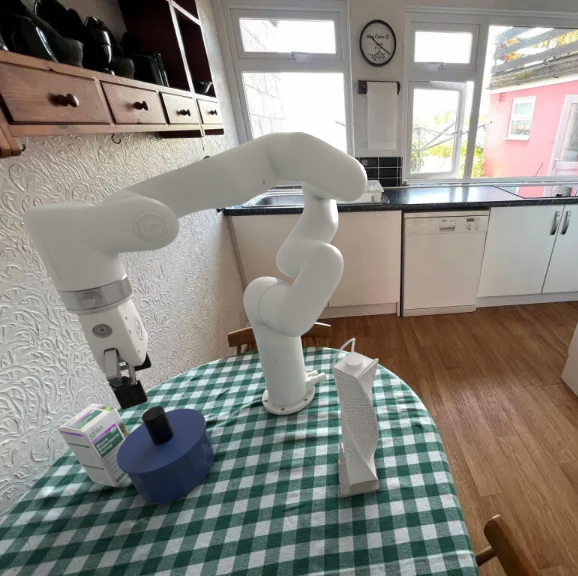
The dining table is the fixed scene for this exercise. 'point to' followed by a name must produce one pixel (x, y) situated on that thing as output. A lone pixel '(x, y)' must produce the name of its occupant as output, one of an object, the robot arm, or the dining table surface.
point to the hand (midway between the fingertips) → (138, 385)
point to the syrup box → (97, 442)
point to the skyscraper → (356, 422)
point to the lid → (161, 440)
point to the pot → (176, 475)
